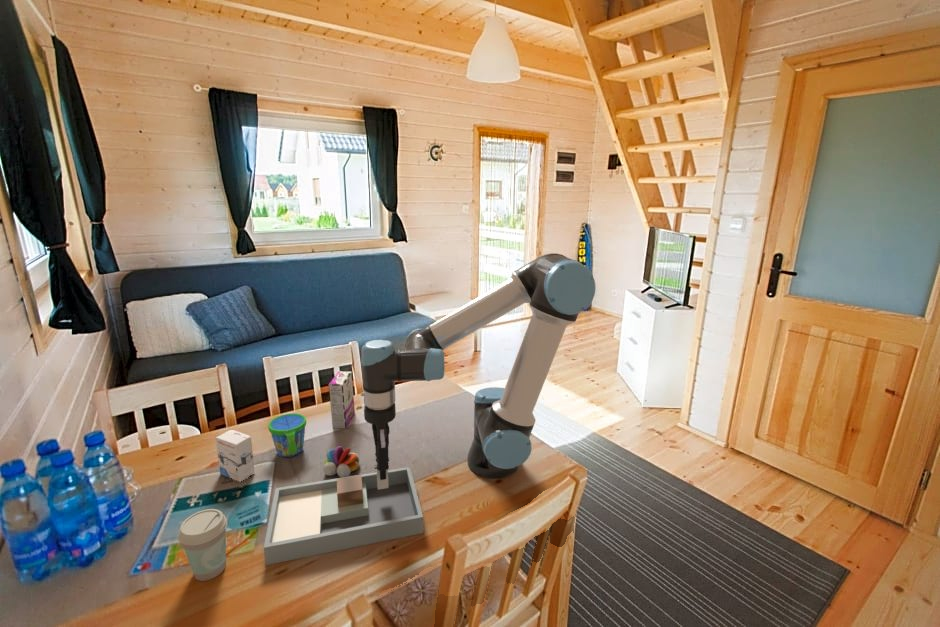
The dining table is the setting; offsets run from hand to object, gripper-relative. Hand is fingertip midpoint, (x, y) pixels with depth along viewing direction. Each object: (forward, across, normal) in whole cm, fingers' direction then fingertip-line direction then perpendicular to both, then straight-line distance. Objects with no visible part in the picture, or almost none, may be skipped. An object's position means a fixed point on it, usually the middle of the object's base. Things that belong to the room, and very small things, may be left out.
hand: (382, 486), depth 113 cm
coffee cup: (+4, +12, -37) cm, 39 cm away
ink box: (+4, -22, -38) cm, 44 cm away
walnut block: (+2, 0, -8) cm, 8 cm away
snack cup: (+4, -30, -25) cm, 39 cm away
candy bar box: (+4, -45, -9) cm, 46 cm away
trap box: (+4, +4, -9) cm, 11 cm away
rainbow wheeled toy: (+4, -16, -10) cm, 20 cm away
